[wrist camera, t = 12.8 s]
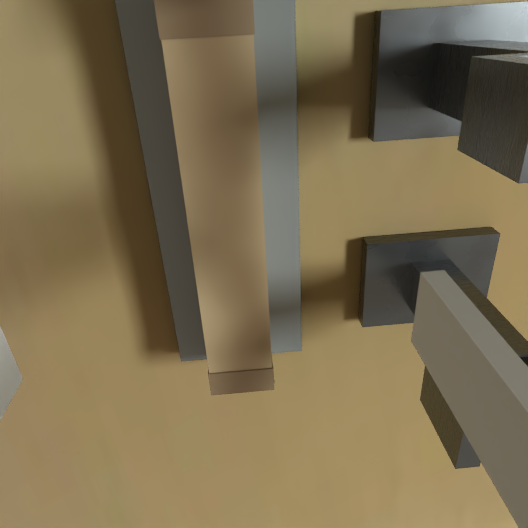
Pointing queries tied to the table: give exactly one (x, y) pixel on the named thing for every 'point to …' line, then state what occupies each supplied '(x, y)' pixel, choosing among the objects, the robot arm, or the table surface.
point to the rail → (221, 181)
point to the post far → (405, 297)
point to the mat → (271, 154)
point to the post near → (455, 80)
